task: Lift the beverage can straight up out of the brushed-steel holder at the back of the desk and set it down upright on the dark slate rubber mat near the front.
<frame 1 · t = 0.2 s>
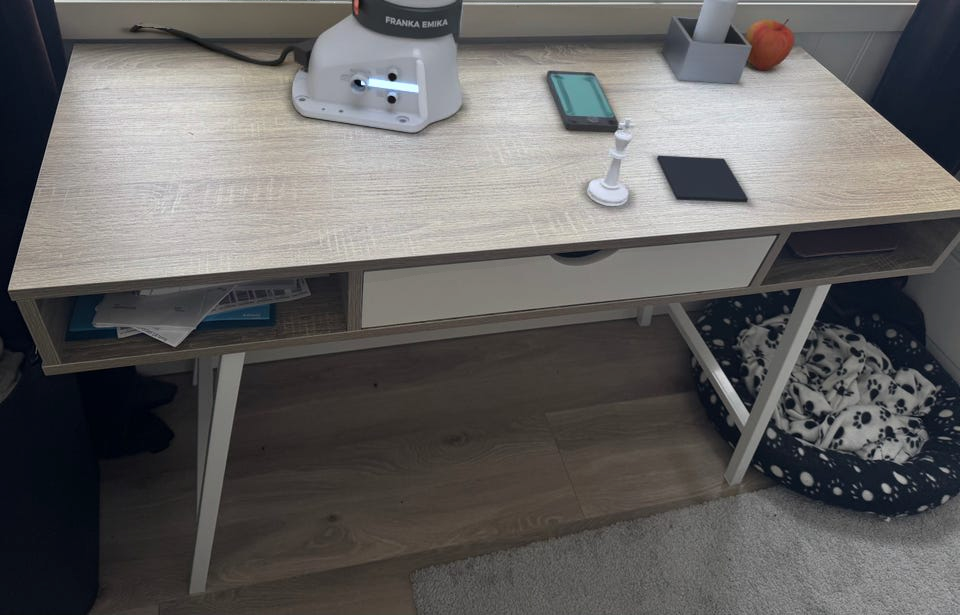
smartphone: (580, 104, 103), on the table
mat: (700, 179, 92), on the table
apple: (758, 67, 119), on the table
holder: (698, 67, 116), on the table
chess piece: (606, 195, 87), on the table
beverage can: (698, 68, 116), resting in holder
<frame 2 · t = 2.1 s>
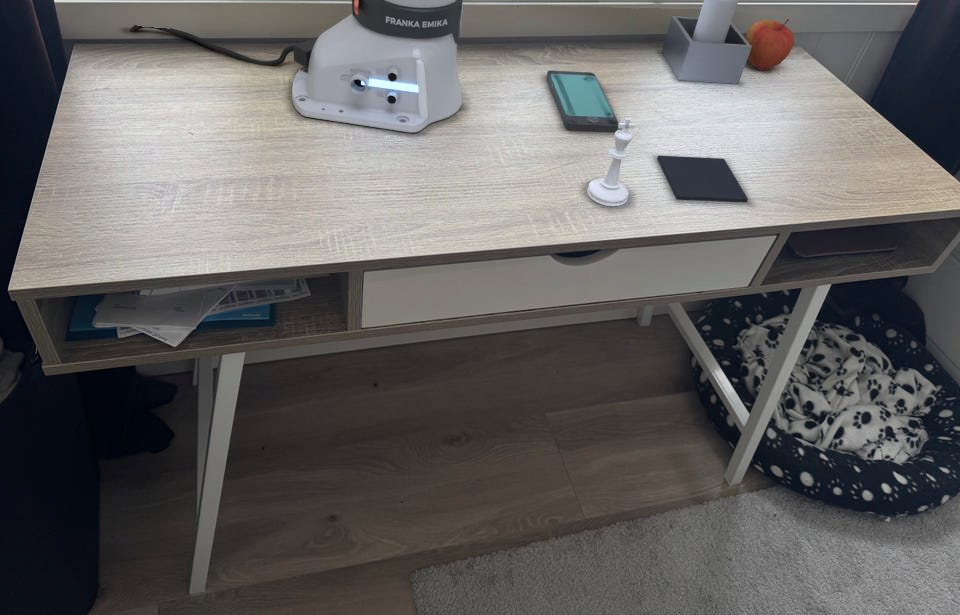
nothing on the table moved.
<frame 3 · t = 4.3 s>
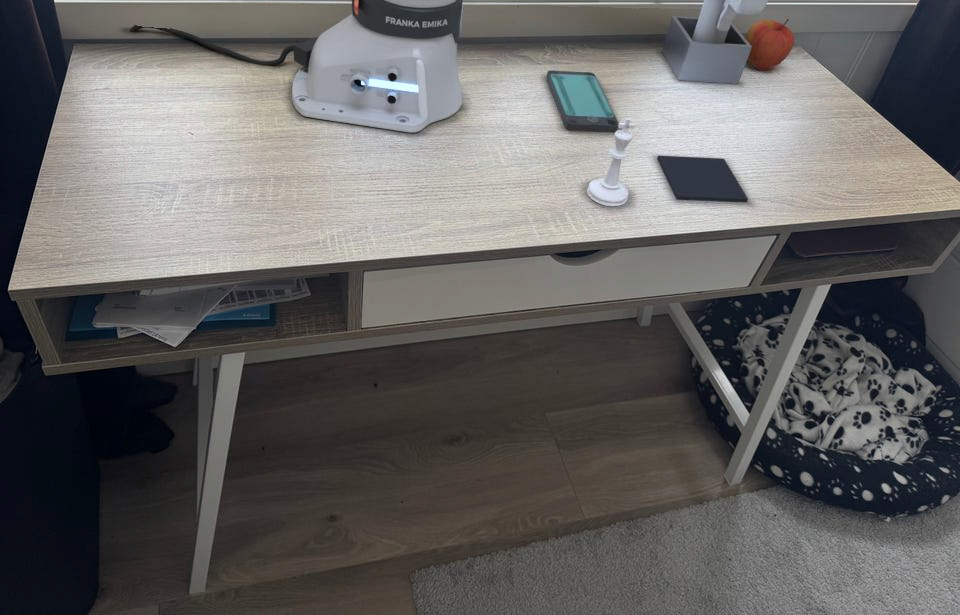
hand: (714, 20, 111), 8 cm above the table, tool pointing down, fingers closed on beverage can, 5 cm apart
beverage can: (698, 69, 116), resting in holder, touching gripper
everything else where it was.
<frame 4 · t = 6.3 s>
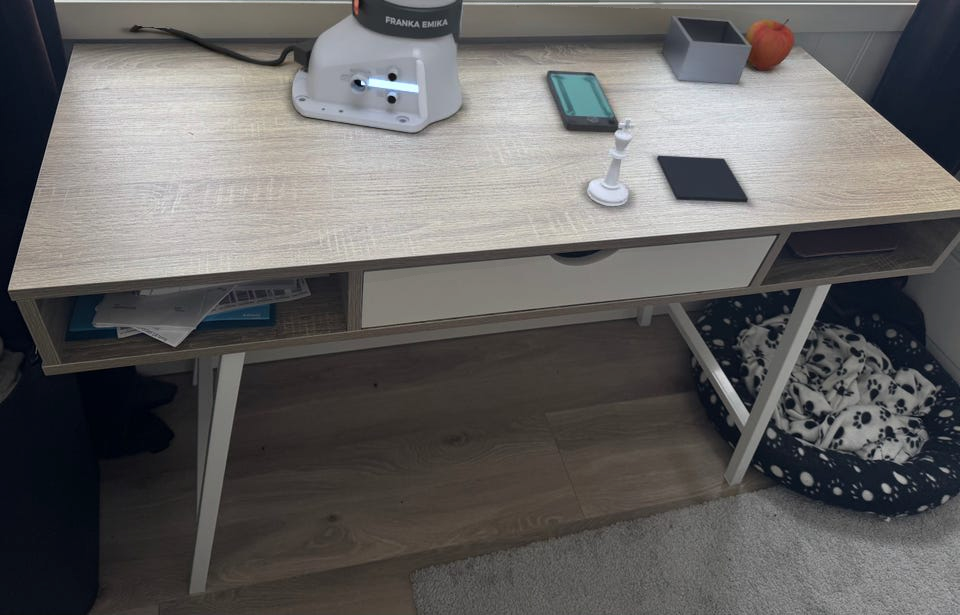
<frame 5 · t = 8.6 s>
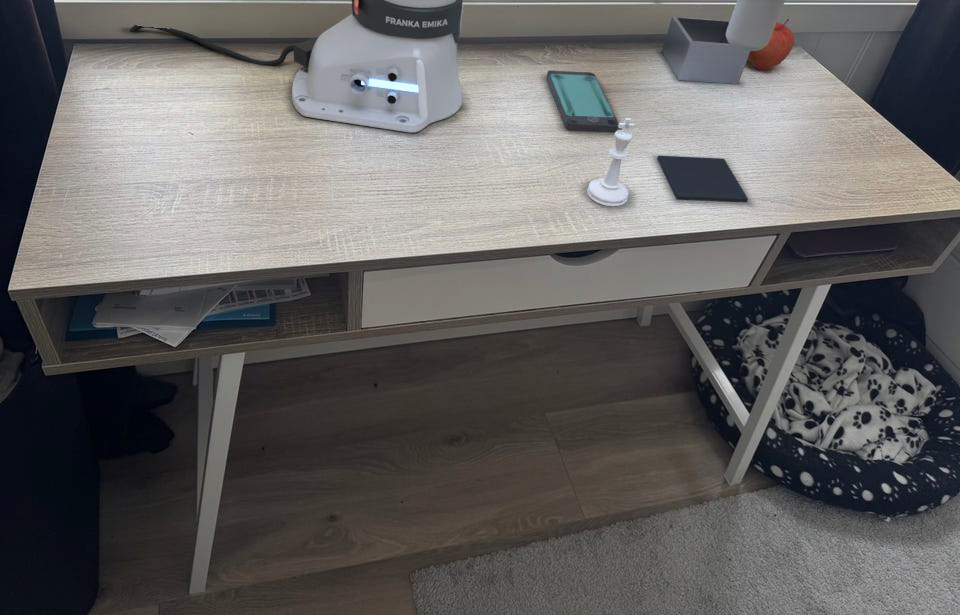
beverage can: (744, 44, 83), point 16 cm above the table, touching gripper
everything else where it was.
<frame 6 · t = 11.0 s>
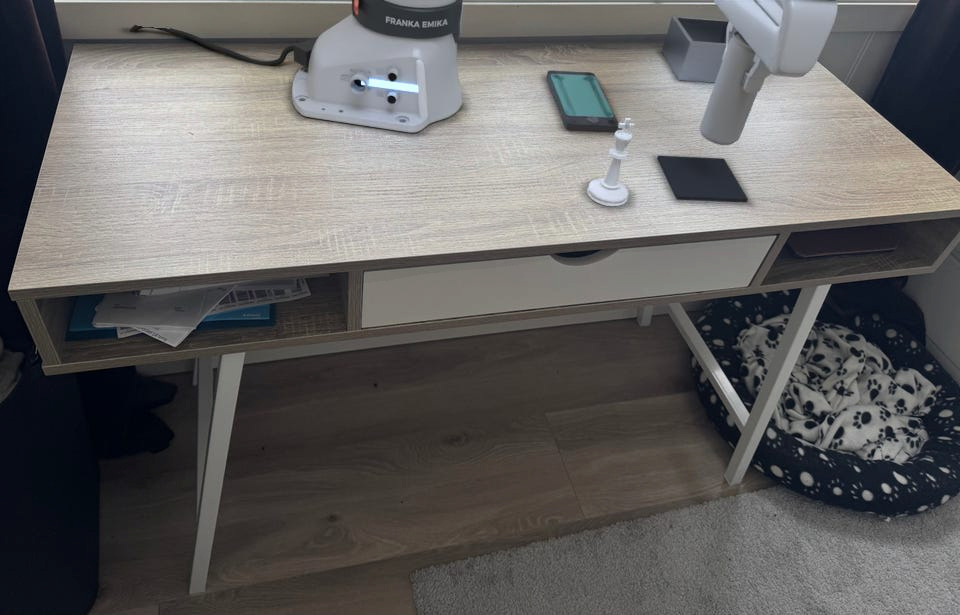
hand: (739, 77, 82), 14 cm above the table, tool pointing down, fingers closed on beverage can, 5 cm apart
beverage can: (717, 137, 88), point 6 cm above the table, touching gripper
everything else where it was.
when the fingers open (8 cm above the table, at t = 12.8 s): beverage can stays where it is, resting on mat.
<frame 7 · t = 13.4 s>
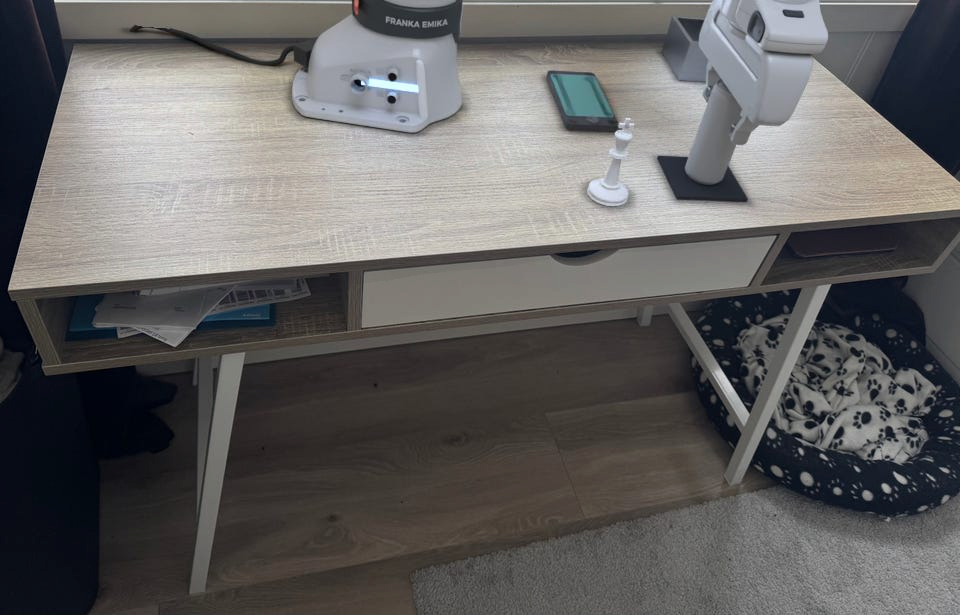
hand: (722, 120, 86), 8 cm above the table, tool pointing down, fingers open, 8 cm apart
beverage can: (702, 177, 92), resting on mat
everything else where it was.
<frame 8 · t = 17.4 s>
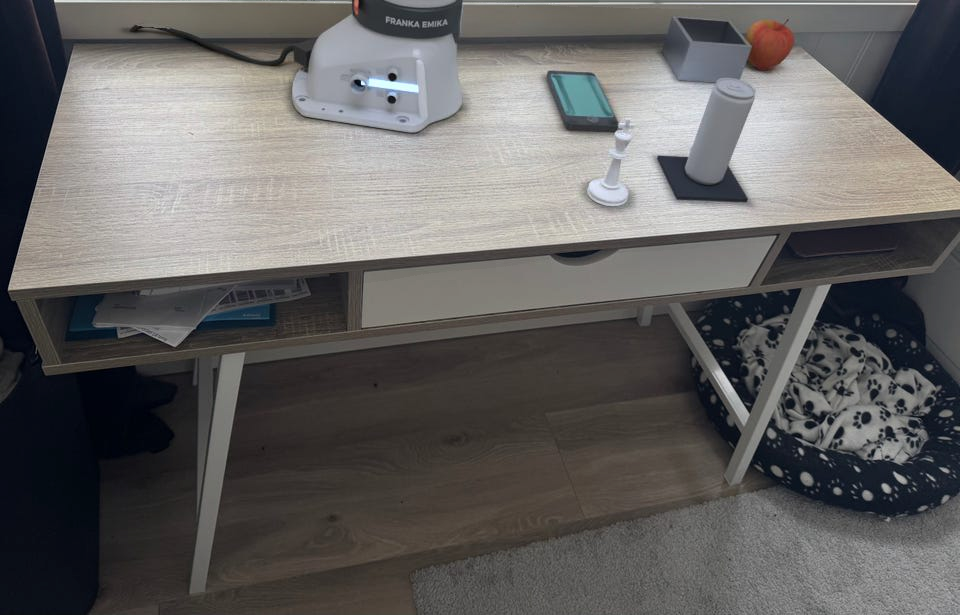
nothing on the table moved.
at the end: beverage can inside the target area on the mat (0.1 cm from its centre), point 0.3 cm above the mat's base; beverage can tilted 0°; beverage can touching mat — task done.
